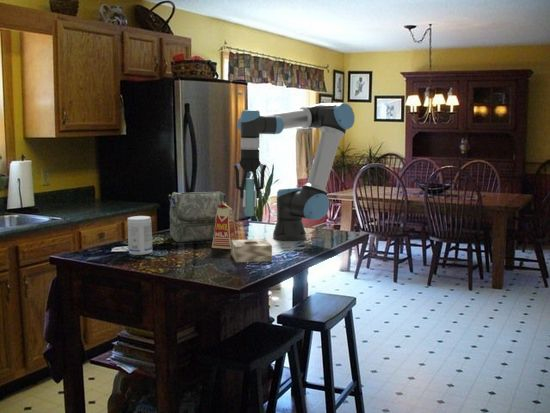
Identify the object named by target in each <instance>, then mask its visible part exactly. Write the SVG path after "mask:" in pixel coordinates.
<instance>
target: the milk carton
mask: <svg viewBox="0 0 550 413" xmlns="http://www.w3.org/2000/svg"><path fill="white" fill-rule="evenodd" d="M231 240H237V233H236V227H235V219H234V212H233V209H232V208H231V207H230V206H229V205H227V202H225V201H224V202H223V201H222V204H221V205H220V206H219V207H218V208H217V214H216V218H215V231H214V237H213V240H212V242H211V243H212V244H211V248H212V249H227V250H231Z"/></svg>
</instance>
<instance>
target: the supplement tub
mask: <svg viewBox="0 0 550 413" xmlns="http://www.w3.org/2000/svg"><path fill="white" fill-rule="evenodd" d="M152 229H153V228H152V217H151V216H148V215H135V216H134V215H133V216H130V217H127V239H128V240H127V243H128V244H127V245H128V252H129V254H130V255H134V256H143V255H149V254H151V253H152V252H153V231H152Z"/></svg>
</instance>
